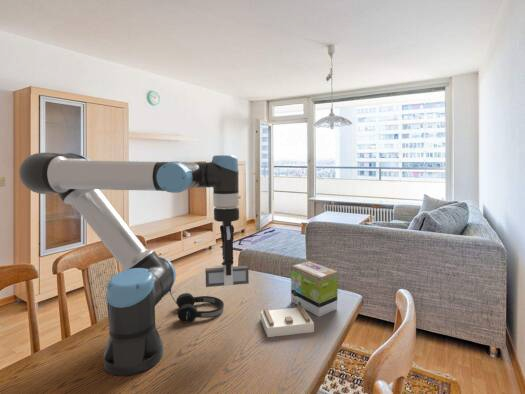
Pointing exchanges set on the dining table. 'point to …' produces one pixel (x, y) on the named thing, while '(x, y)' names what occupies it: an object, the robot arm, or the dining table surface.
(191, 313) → the headset
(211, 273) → the glasses
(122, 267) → the robot arm
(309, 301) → the tea box
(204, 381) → the dining table surface
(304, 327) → the stand
